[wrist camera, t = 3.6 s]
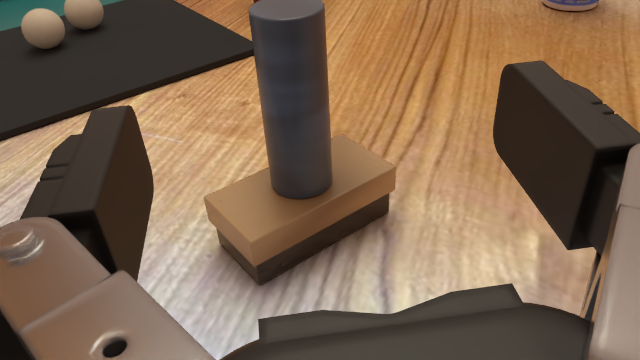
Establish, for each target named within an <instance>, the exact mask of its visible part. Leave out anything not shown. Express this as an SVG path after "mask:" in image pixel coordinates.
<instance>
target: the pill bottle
mask: <svg viewBox="0 0 640 360" xmlns="http://www.w3.org/2000/svg"><path fill="white" fill-rule="evenodd" d="M542 1H543V3H544V4H545V5H547V6H549V7H551V8H554V9H558V10H565V11H584V10H589V9H592V8H594V7H595V6H596V5H597V4H598V1H599V0H542Z"/></svg>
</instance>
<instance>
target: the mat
mask: <svg viewBox="0 0 640 360" xmlns="http://www.w3.org/2000/svg"><path fill="white" fill-rule="evenodd" d="M102 7H103V12H104V14H103V19H102V21H101V23H100V24H99V25H98V26H96V27H95V28H93V29H88V30H84V29H79V28H77V27H75V26H73V25H72V24H71V23H70V22H69V21H68V20H67V18H66V16H65V15H63V16H59V17H60V18H61V20H62V21H63V24H64V27H65V35H64V38H63V40H62V41H61V43H60V44H59V45H57V46H56V47H53V48H50V49H41V48H38V47H35V46H33V45H32V44H30V43H29V42H28V41H27V40H26V39H25V37H24V35H23V33H22V29H21V26H19V27H15V28H11V29H7V30H3V31H0V140H3V139H6V138H8V137H11V136H14V135H17V134H20V133H23V132H26V131H29V130H32V129H35V128H38V127H41V126H44V125H47V124H50V123H53V122H56V121H59V120H62V119H65V118H68V117H71V116H74V115H76V114H79V113H82V112H85V111H88V110H91V109H94V108H97V107H100V106H103V105H106V104H109V103H112V102H115V101H118V100H121V99H124V98H127V97H130V96H133V95H136V94H139V93H142V92H144V91H147V90H150V89H153V88H156V87H159V86H162V85H165V84H168V83H171V82H174V81H177V80H180V79H183V78H186V77H189V76H192V75H195V74H198V73H201V72H204V71H207V70H210V69H213V68H215V67H218V66H221V65H224V64H227V63H230V62H233V61H236V60H239V59H242V58H245V57H248V56H251V55H254V49H253V42H252V41H250V40H248V39H246V38H245V37H243V36H241V35H239V34H237V33H235V32H233V31H231V30H229V29H227V28H226V27H224V26H222V25H220V24H218V23H216V22H214V21H212V20H210V19H208V18H206V17H205V16H203V15H201V14H199V13H197V12H195V11H193V10H191V9H189V8H187V7H186V6H184V5H182V4H180V3H178V2H176V1H174V0H123V1H119V2H115V3H111V4H107V5H103V6H102Z"/></svg>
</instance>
